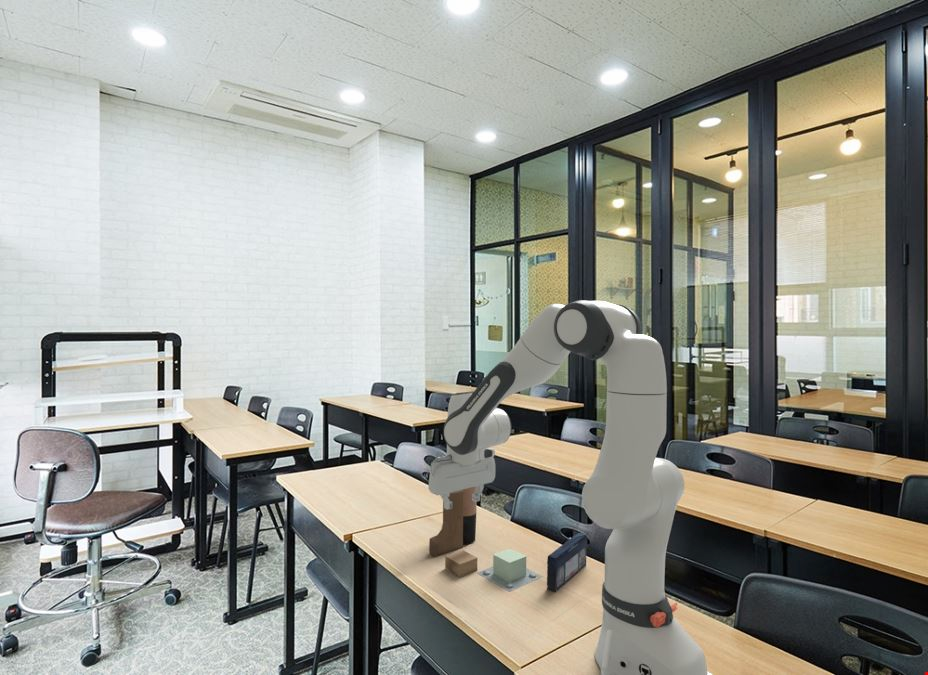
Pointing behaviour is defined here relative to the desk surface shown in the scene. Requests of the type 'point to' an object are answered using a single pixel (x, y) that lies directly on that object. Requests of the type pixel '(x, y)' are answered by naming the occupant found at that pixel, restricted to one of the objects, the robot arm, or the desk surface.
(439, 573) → the desk surface
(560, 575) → the vhs cassette tape
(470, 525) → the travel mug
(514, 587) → the base plate
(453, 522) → the wooden block
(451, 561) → the walnut brick
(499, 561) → the green brick
